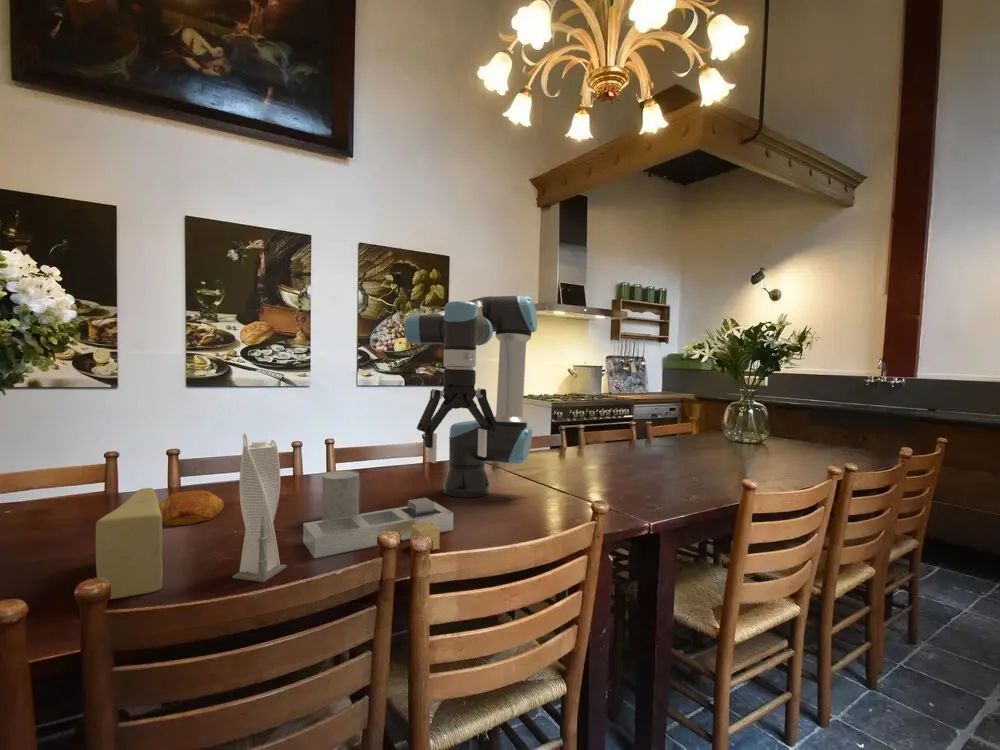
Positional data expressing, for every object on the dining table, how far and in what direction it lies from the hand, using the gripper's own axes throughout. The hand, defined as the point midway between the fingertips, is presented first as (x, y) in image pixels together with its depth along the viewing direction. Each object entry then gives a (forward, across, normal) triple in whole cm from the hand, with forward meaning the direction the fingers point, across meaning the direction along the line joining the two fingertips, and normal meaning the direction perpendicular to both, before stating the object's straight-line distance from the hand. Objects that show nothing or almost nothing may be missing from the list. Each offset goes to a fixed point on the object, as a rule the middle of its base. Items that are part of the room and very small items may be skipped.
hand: (457, 459), depth 115 cm
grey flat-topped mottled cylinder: (+20, -17, +32) cm, 42 cm away
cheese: (+21, -60, +22) cm, 67 cm away
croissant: (+21, -50, +55) cm, 77 cm away
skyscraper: (+21, -41, +10) cm, 47 cm away
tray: (+20, -12, +15) cm, 28 cm away
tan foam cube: (+20, -7, +3) cm, 22 cm away
